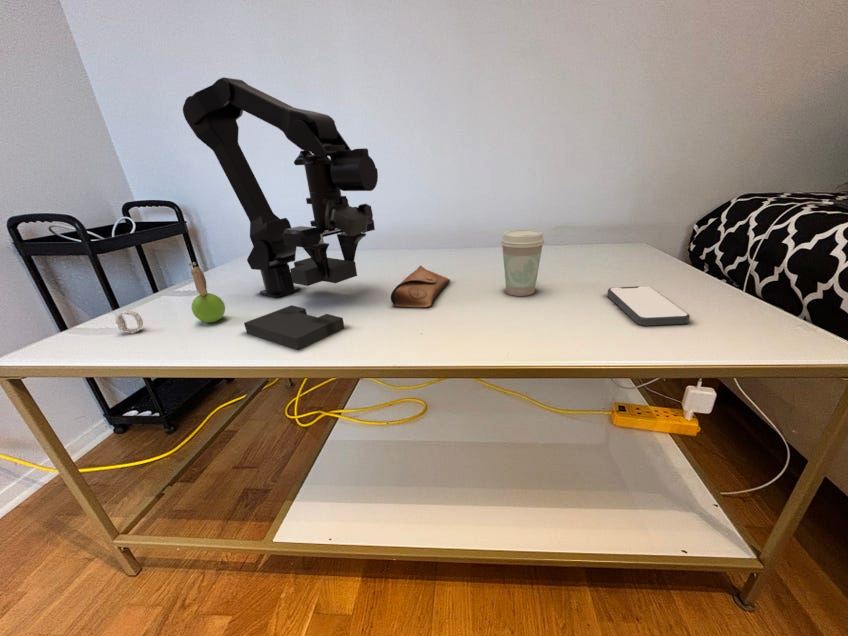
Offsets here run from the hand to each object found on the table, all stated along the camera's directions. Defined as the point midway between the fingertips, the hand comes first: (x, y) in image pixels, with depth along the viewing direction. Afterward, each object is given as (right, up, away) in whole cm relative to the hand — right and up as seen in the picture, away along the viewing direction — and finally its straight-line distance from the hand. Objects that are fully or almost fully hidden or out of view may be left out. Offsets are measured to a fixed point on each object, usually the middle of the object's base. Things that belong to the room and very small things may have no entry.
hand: (338, 273), depth 84 cm
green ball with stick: (-22, -11, -6) cm, 25 cm away
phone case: (+58, -9, -9) cm, 59 cm away
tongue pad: (-4, -1, +1) cm, 5 cm away
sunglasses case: (+17, -4, +4) cm, 18 cm away
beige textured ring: (-35, -13, -9) cm, 39 cm away
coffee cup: (+38, -4, +2) cm, 38 cm away
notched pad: (-4, -12, -11) cm, 17 cm away
